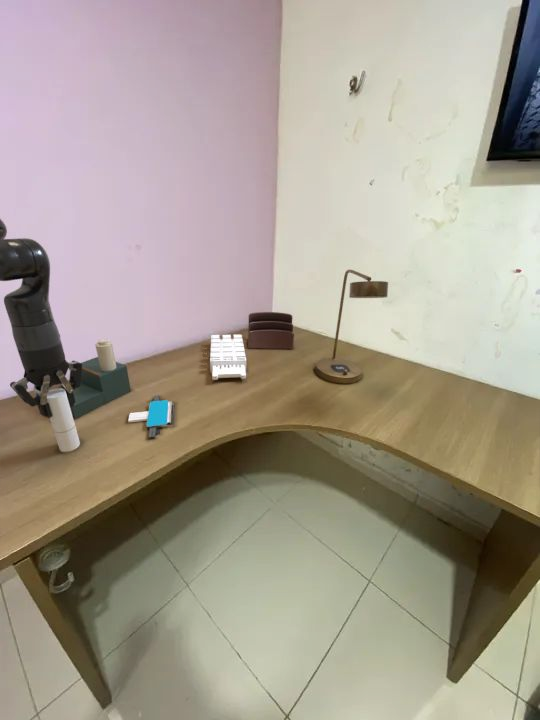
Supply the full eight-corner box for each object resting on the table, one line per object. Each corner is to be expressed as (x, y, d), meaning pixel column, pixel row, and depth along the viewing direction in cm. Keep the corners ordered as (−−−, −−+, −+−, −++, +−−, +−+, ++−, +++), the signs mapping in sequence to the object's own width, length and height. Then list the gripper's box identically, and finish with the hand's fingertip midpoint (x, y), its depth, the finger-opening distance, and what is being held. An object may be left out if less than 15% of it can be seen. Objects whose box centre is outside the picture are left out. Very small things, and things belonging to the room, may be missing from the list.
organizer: (241, 334, 137) (248, 370, 105) (241, 344, 139) (248, 383, 107) (211, 334, 135) (209, 371, 103) (211, 345, 137) (210, 384, 105)
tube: (82, 446, 76) (68, 393, 69) (62, 454, 73) (45, 400, 66) (76, 437, 78) (62, 386, 72) (57, 445, 75) (40, 392, 69)
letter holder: (248, 340, 144) (248, 310, 138) (290, 341, 145) (292, 312, 139) (247, 348, 135) (248, 317, 129) (293, 349, 136) (295, 318, 130)
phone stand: (134, 399, 95) (133, 395, 94) (174, 396, 98) (174, 391, 97) (123, 442, 77) (122, 437, 77) (173, 436, 80) (172, 431, 80)
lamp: (332, 400, 100) (350, 280, 83) (310, 363, 124) (321, 265, 108) (381, 398, 102) (408, 281, 86) (351, 362, 126) (367, 266, 110)
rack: (49, 404, 91) (40, 375, 87) (105, 379, 105) (99, 354, 101) (75, 418, 85) (67, 388, 81) (130, 390, 100) (126, 364, 95)
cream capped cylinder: (97, 368, 93) (91, 341, 89) (110, 363, 97) (105, 336, 93) (106, 372, 91) (100, 344, 87) (119, 367, 95) (114, 339, 91)
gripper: (63, 329, 71) (80, 393, 78) (-12, 349, 60) (15, 421, 67) (83, 336, 68) (98, 402, 75) (7, 358, 57) (34, 433, 64)
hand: (59, 410), depth 71 cm, fingers closed on tube, 4 cm apart
